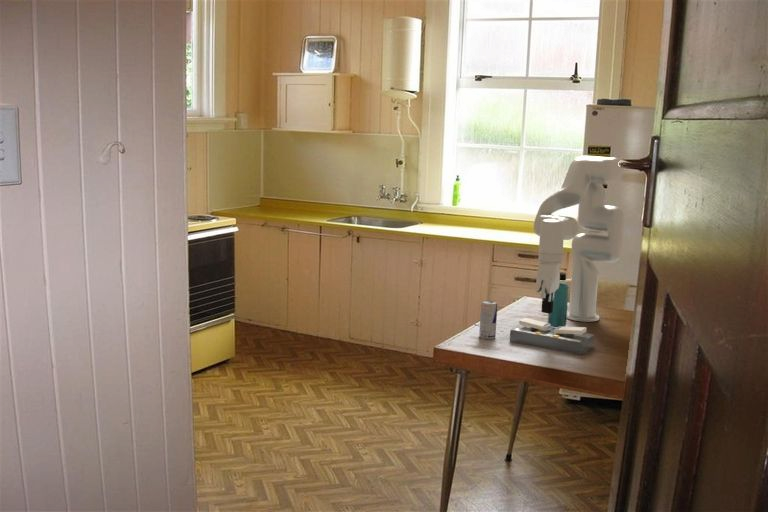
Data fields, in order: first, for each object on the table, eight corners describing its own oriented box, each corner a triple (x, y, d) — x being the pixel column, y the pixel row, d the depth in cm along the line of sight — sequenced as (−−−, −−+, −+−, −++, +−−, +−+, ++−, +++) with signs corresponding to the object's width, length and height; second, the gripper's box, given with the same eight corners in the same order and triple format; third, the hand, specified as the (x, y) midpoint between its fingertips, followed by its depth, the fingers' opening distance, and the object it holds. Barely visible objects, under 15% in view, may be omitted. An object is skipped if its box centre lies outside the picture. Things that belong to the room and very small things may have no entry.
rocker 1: (524, 320, 265) (525, 317, 264) (550, 327, 260) (550, 324, 260) (519, 323, 260) (519, 320, 260) (544, 330, 256) (545, 327, 256)
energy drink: (497, 336, 264) (500, 301, 262) (491, 340, 260) (493, 304, 258) (483, 334, 267) (485, 299, 265) (476, 337, 262) (478, 302, 260)
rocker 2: (559, 329, 258) (559, 326, 258) (586, 331, 254) (586, 327, 254) (554, 333, 254) (554, 329, 254) (581, 334, 250) (581, 330, 249)
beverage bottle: (566, 332, 273) (570, 275, 269) (546, 330, 274) (550, 274, 271) (565, 327, 279) (570, 272, 276) (546, 326, 280) (550, 270, 277)
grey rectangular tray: (523, 333, 269) (524, 319, 268) (592, 346, 257) (594, 331, 256) (509, 341, 259) (510, 327, 258) (581, 355, 247) (582, 340, 246)
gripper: (547, 252, 263) (544, 305, 266) (530, 260, 250) (527, 315, 254) (569, 255, 259) (565, 309, 263) (553, 263, 246) (549, 319, 250)
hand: (546, 312), depth 258 cm, fingers closed
